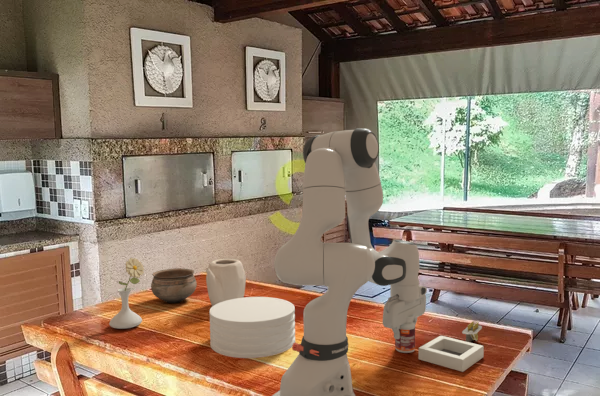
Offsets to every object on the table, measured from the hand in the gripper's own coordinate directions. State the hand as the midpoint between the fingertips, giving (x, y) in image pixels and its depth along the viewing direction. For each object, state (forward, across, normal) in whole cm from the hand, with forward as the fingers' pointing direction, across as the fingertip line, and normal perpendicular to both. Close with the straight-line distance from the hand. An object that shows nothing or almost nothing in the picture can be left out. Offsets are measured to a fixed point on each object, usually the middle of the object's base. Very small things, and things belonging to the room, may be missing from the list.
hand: (404, 334), depth 163 cm
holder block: (+5, +3, -14) cm, 15 cm away
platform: (+5, +20, -14) cm, 25 cm away
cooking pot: (+5, -15, +104) cm, 105 cm away
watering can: (+5, -7, +80) cm, 80 cm away
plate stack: (+5, -26, +42) cm, 50 cm away
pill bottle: (+5, 0, 0) cm, 5 cm away
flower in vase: (+5, -45, +89) cm, 100 cm away
